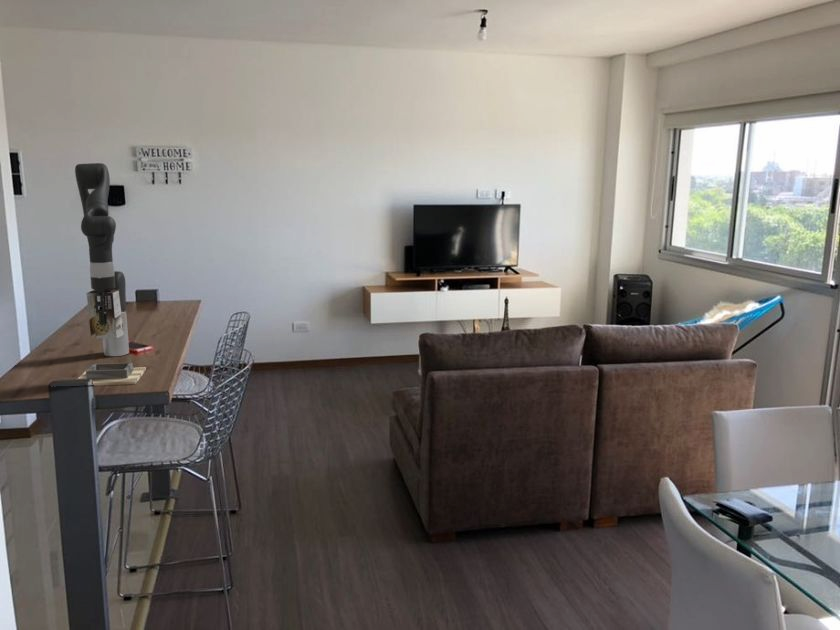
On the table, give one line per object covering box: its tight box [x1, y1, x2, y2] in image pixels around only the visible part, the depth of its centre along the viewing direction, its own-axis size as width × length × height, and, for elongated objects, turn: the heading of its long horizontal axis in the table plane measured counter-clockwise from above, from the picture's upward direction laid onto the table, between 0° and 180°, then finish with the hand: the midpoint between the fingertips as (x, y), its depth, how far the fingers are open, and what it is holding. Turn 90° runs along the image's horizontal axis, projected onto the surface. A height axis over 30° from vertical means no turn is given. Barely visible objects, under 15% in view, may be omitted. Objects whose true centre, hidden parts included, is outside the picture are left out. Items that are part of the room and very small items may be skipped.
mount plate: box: [77, 362, 147, 387], centre depth 236 cm, size 18×20×4 cm
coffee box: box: [86, 289, 123, 339], centre depth 232 cm, size 9×6×16 cm
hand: (106, 322), depth 232 cm, fingers closed on coffee box, 7 cm apart
